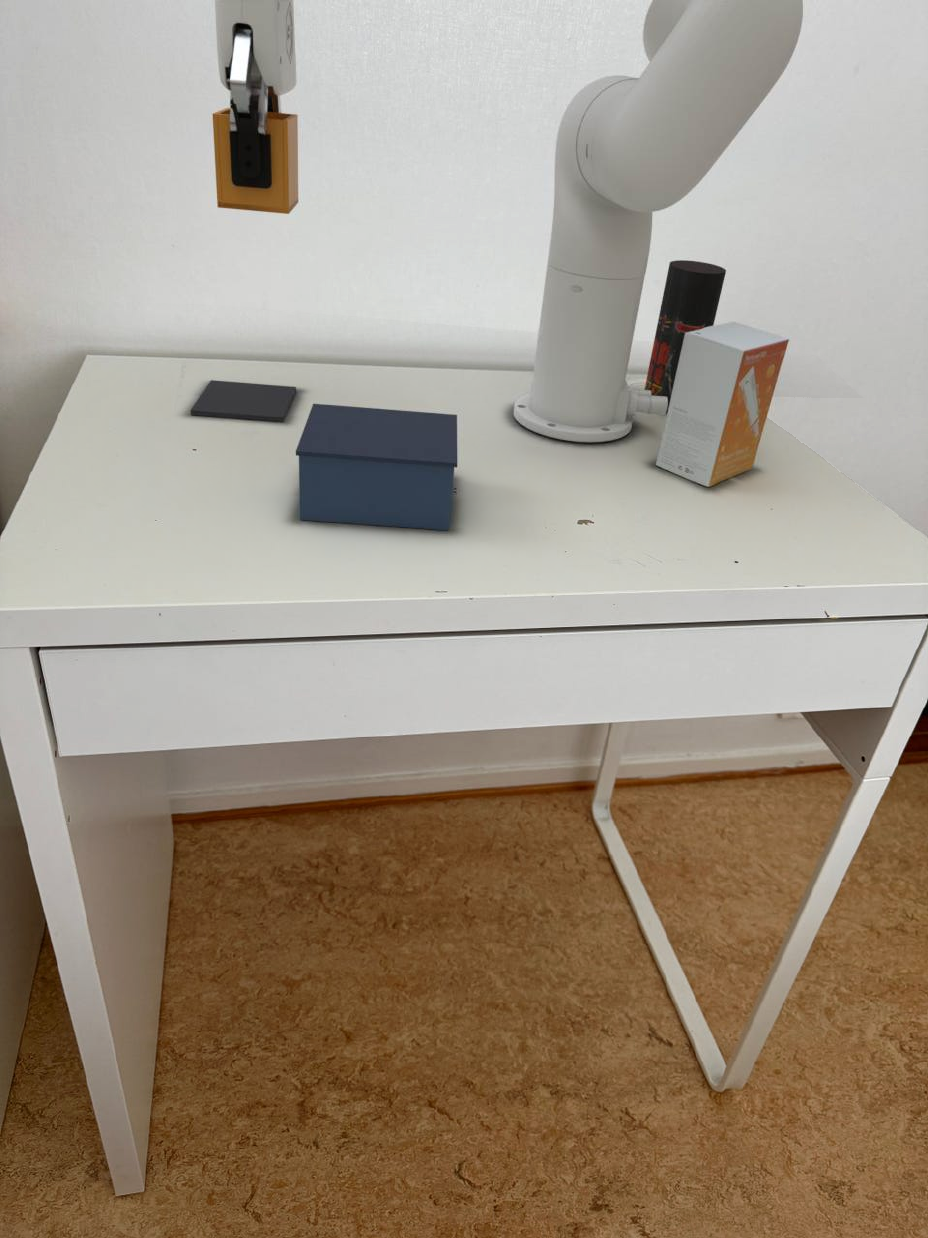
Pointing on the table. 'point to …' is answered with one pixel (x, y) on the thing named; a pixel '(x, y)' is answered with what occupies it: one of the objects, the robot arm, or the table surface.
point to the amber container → (282, 166)
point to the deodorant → (682, 318)
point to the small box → (720, 401)
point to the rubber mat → (244, 401)
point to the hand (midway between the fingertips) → (258, 178)
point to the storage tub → (377, 467)
